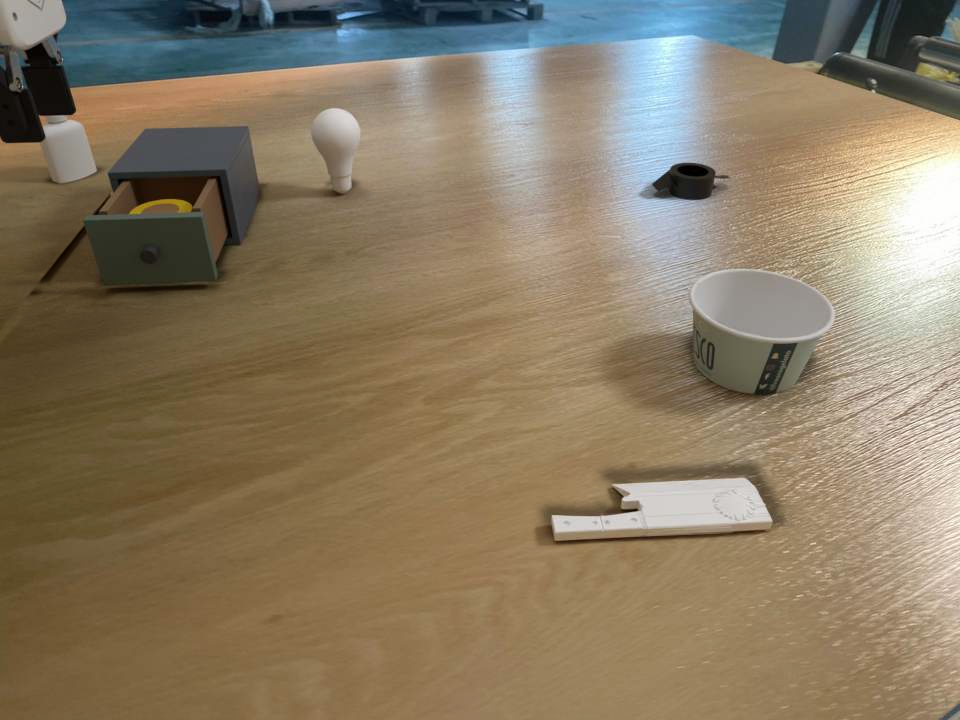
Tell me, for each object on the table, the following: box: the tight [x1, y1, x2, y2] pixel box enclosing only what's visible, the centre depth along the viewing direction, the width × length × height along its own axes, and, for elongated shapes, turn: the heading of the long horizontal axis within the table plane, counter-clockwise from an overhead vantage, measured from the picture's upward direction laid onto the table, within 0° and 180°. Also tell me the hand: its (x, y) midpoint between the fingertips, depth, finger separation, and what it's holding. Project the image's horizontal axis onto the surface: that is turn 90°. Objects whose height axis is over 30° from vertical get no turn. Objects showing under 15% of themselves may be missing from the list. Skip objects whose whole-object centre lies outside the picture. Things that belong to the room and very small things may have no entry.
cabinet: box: [107, 125, 261, 246], centre depth 91 cm, size 15×13×9 cm
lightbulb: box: [310, 107, 362, 195], centre depth 97 cm, size 6×6×11 cm
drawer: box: [82, 176, 230, 286], centre depth 82 cm, size 15×11×7 cm
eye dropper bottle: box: [39, 115, 98, 184], centre depth 100 cm, size 4×6×12 cm
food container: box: [688, 268, 836, 395], centre depth 67 cm, size 12×12×6 cm
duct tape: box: [651, 162, 731, 201], centre depth 100 cm, size 8×10×3 cm
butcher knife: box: [550, 477, 773, 542], centre depth 54 cm, size 5×15×1 cm, turn 94°
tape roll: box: [129, 199, 193, 214], centre depth 81 cm, size 6×6×5 cm
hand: (41, 125), depth 63 cm, fingers open, 6 cm apart
